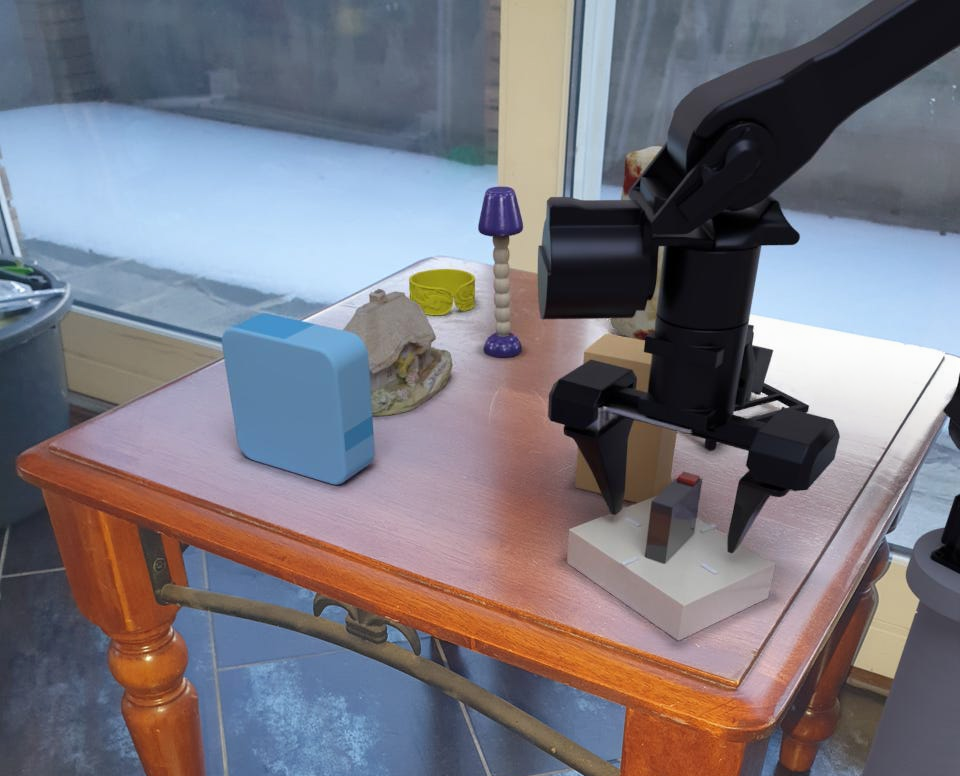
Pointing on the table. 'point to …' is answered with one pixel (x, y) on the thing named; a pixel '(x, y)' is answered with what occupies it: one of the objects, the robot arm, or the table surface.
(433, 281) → the bracelet
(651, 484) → the packet
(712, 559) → the light grey block
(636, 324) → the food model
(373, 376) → the ceramic model
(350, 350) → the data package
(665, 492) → the gray box
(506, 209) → the toy lamp
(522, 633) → the table surface
